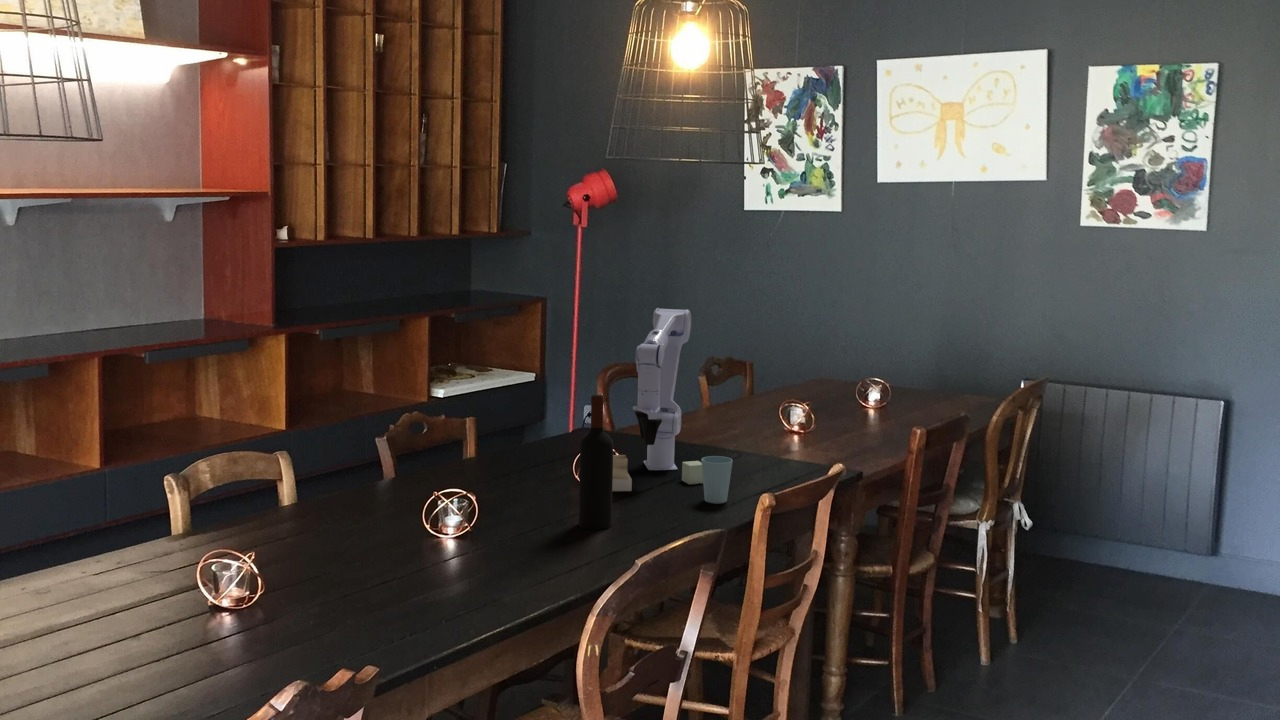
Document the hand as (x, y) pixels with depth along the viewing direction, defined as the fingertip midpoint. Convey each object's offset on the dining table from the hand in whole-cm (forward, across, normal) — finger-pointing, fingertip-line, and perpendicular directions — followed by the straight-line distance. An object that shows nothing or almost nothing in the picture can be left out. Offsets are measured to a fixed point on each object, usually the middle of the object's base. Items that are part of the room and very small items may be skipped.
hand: (647, 441), depth 321 cm
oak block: (+8, +7, -9) cm, 13 cm away
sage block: (+10, +2, +12) cm, 16 cm away
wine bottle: (+11, +40, -18) cm, 45 cm away
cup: (+11, +21, +14) cm, 27 cm away
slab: (+10, +7, -9) cm, 15 cm away
